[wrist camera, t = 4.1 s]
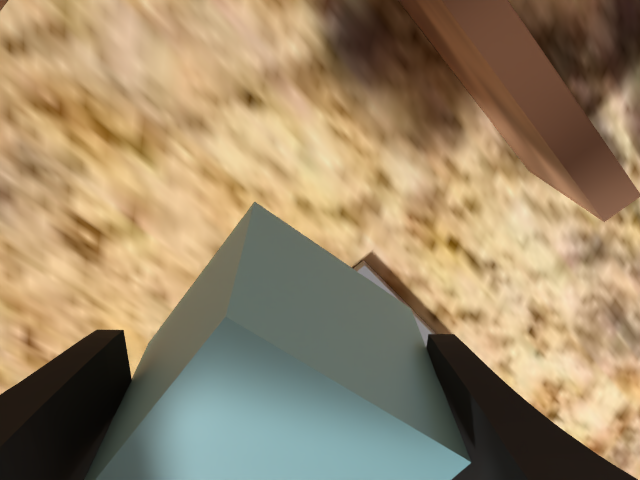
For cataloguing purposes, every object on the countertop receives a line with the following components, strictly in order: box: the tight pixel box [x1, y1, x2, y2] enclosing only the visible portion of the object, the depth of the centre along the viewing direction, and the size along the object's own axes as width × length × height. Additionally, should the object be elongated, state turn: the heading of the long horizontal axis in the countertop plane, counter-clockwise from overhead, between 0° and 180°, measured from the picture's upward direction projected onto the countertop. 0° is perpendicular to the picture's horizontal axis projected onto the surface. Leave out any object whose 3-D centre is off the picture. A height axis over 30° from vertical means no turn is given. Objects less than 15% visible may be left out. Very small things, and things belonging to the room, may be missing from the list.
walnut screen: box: [0, 0, 640, 222], centre depth 16 cm, size 19×17×6 cm
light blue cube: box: [84, 202, 471, 480], centre depth 11 cm, size 5×5×5 cm
